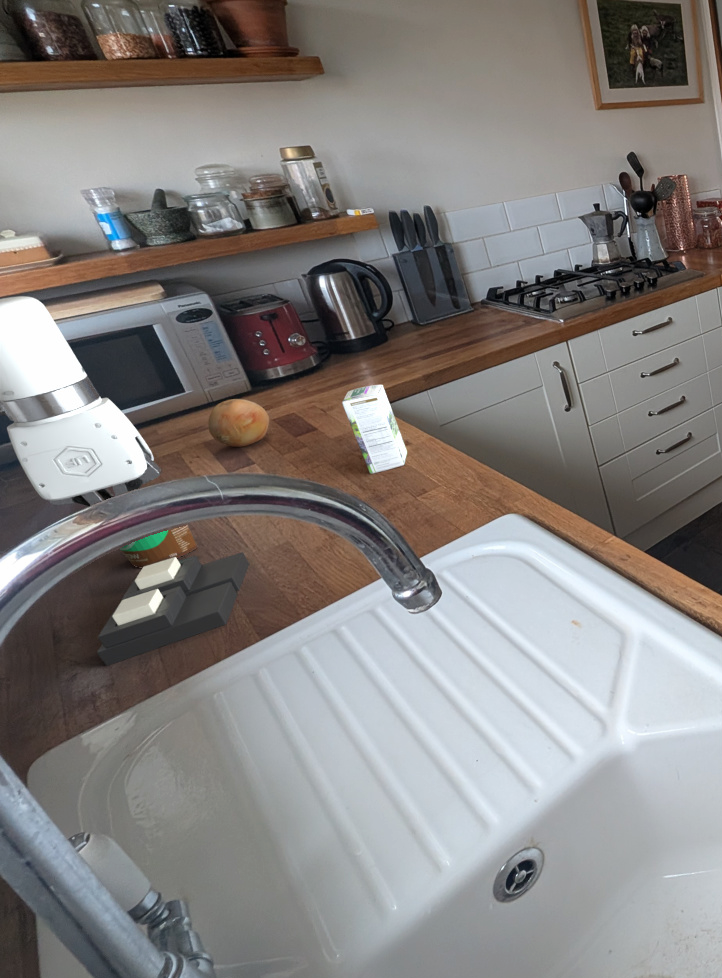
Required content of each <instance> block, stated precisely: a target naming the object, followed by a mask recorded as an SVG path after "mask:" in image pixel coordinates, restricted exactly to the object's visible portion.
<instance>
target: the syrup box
mask: <svg viewBox="0 0 722 978" xmlns="http://www.w3.org/2000/svg"><path fill="white" fill-rule="evenodd" d="M341 404H342V408H343V410H344V412H345V414H346V417H347V420H348V422H349V424H350V427H351V430H352V432H353V435H354V436H355V439H356V442H357V445H358V447H359V449H360V452H361V455H362V458H363V460H364V462H365V464H366V468H367V470H368V472H369V474H372V475H373V474H376V473H380V472H385V471H389V470H392V469H395V468H398V467H403V466H405V464H406V460H407V456H408V450H407V447H406V444H405V441H404V438H403V436H402V433H401V431H400V428H399V425H398V423H397V420H396V419H397V418H396V417H395V414H394V412H393V409H392V407H391V403H390V401H389V398H388V396H387V393H386V390H385V388H384V385H383V384H374V385H373V384H372V385H367V386H363V387H362V386H361V387H357V388H354V389H351V390H348V391H347V392H346V394H345V396H344V398H343V400H342V402H341Z"/></svg>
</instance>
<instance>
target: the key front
mask: <svg viewBox="0 0 722 978" xmlns="http://www.w3.org/2000/svg"><path fill="white" fill-rule="evenodd" d="M163 600H164V598H163V596H162V594H161V593H160V591H159V590H158V589H155V590H152V591H149V592H146V593H143V594H140V595H136V596H133V597H130V598H127V599H124V600H122V599H121V601H120V603H119V604H118V605H117V606H118V608H117V609H116V608H115V609H116V611H115V610H114V611H115V613H114V614H113V613H112V614H113V616H112V617H113V619H114V620H115V622H116V623H117V625H118V626H119V625H122V624H125V623H128V622H131V621H134V620H137V619H140V618H143V617H146V616H149V615H152V614H155V613H157V611H158V609H159V607H160V606H161V604H162V602H163Z"/></svg>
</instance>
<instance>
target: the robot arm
mask: <svg viewBox="0 0 722 978" xmlns="http://www.w3.org/2000/svg"><path fill="white" fill-rule="evenodd" d="M0 416H4V417H6V416H7V417H8V419H9V421H11V422H12V421H13V423H11V424H9V425H8V426H6V430H7V434H8V437H9V440H10V442H11V446H12V448H13V450H14V453H15V455H16V457H17V460H18V462H19V464H20V466H21V467H22V470H23V471H24V473H25V475H26V477H27V478H28V480H29V482H30V483H31V485H32V487H33V489H34V490H35V492H36V493H37V494H38V495H39V497H41V499H43V500H44V501H49V502H50V504H51V505H52V506H64V505H72V504H73V505H74V504H80V505H82V506H85V507H86V506H87V507H90V505H92V504H94V503H97V502H100V501H103V500H106V499H108V498H111V497H114V496H115V497H116V496H117V495H120V494H123V493H126V492H128V491H131V490H134V489H138V488H139V489H141V487H142V485H145V484H147V483H150V482H151V481H153V480H155V479H157V478H159V477H160V475H161V474H162V473H163V469H162V468H161V467H160V466H159V465H158V464H157V463H156V462H155V461H154V460H155V457H154V455H153V452H152V450H151V448H150V447H149V445H148V444H147V442H146V440H145V439H144V438H143V437H142V435H141V434H140V432H139V430H138V429H137V428H136V427H135V426H134V424H133V423H132V422H131V421H130V419H129V418H128V417H127V416H126V414H124V412H123V411H122V410H121V409H120V408H119V407H118V406H117V405H116V404H115V403H114V402H113V401H112V400H111V399H109V397H103V398H101V396H100V394H99V392H98V391H97V389H96V387H95V386H94V384H93V382H92V381H91V379H90V378H89V376H88V374H87V373H86V371H85V369H84V368H83V366H82V364H81V363H80V361H79V360H78V358H77V356H76V355H75V352H74V351H73V350H72V348H71V346H70V344H69V343H68V341H67V340H66V338H65V336H64V335H63V333H62V331H61V330H60V328H59V326H58V325H57V323H56V322H55V320H54V318H53V316H52V315H51V313H50V312H49V310H48V309H47V307H46V305H45V304H44V303H42V302H41V301H40V300H39V299H37V298H35V297H32V296H23V295H22V296H21V295H19V296H10V297H3V298H0ZM110 487H112V490H113V492H112V491H111V490H109V489H110ZM113 493H114V494H113Z"/></svg>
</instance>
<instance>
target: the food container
mask: <svg viewBox="0 0 722 978" xmlns="http://www.w3.org/2000/svg"><path fill="white" fill-rule="evenodd" d="M196 548H198V549H199V547H198V544H197V542H196V540H195V538H194V535H193V534H192V532H191V529H190V528H189V525H188V524H187V525H186V526H183V527H179V528H174V529H171V530H167V531H163V532H160V533H157V534H154V535H150V536H148V537H145V538H143V539H140V540H138V541H135V542H132V543H131V544H129V545H126V546H124V547H122V548H119V550H120V551H121V552H122V553H123V555H124V556H125V557H126V559H127V560H128V561H129V562H130V564H131V565H132V566H133V565H135V566H137V567H145V566H148V565H151V564H154V563H158V562H161V561H164V560H167V559H171V558H174V557H176V558H179V557H180V556H183V555H185V554H187V553H189V552H191V551H192V550H194V549H196ZM196 550H197V549H196ZM191 553H192V552H191ZM189 554H190V553H189ZM187 555H188V554H187ZM185 556H186V555H185ZM183 557H184V556H183ZM179 559H180V558H179Z"/></svg>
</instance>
